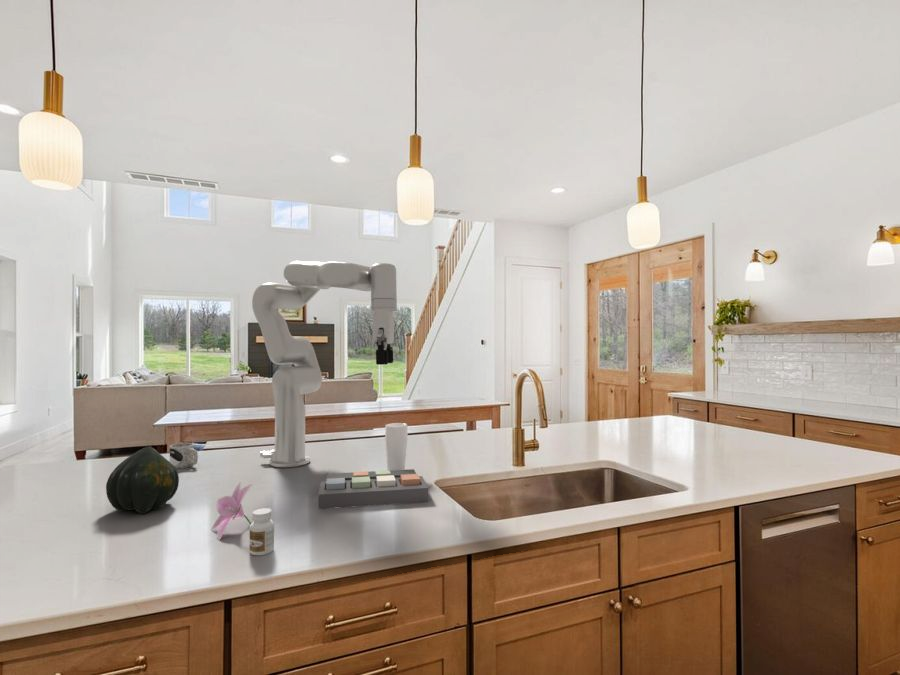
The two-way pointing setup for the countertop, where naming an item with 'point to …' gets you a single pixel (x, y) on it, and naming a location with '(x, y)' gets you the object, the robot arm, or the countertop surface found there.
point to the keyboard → (372, 491)
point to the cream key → (385, 481)
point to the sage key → (360, 482)
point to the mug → (183, 455)
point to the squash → (142, 482)
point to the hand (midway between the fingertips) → (385, 363)
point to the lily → (230, 508)
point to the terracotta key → (409, 479)
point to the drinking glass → (396, 445)
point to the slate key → (335, 483)
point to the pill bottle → (261, 532)
